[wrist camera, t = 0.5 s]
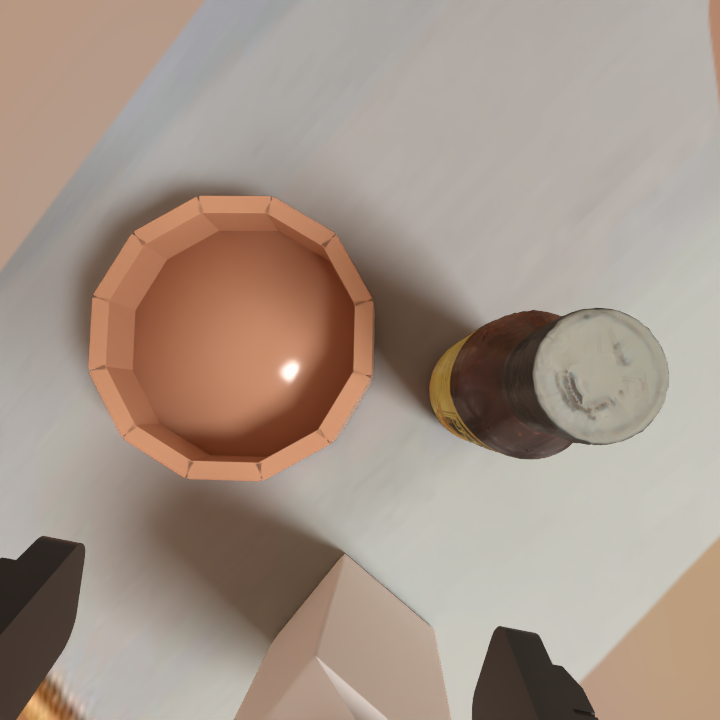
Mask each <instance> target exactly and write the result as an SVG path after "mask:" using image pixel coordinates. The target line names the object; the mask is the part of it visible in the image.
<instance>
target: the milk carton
mask: <svg viewBox="0 0 720 720" xmlns="http://www.w3.org/2000/svg"><path fill="white" fill-rule="evenodd" d="M234 720H451V715H450V709H449V704H448V699H447V694H446V688H445V683H444V678H443V673H442V668H441V662H440V657H439V652H438V647H437V641H436V636H435V631H434V629H433V628H431V627H430V626H429V625H428V624H427V623H426V622H424V621H423V620H422V619H421V618H420V617H419V616H417V615H416V614H415V613H414V612H413V611H412V610H410V609H409V608H408V607H407V606H406V605H405V604H403V603H402V602H401V601H400V600H399V599H398V598H396V597H395V596H394V595H393V594H392V593H391V592H389V591H388V590H387V589H386V588H385V587H384V586H382V585H381V584H380V583H379V582H378V581H376V580H375V579H374V578H373V577H372V576H371V575H369V574H368V573H367V572H366V571H365V570H364V569H362V568H361V567H360V566H359V565H358V564H357V563H355V562H354V561H353V560H352V559H351V558H350V557H348V556H347V555H346V554H344V555H343V556H342V557H341V558H340V559H339V560H338V561H337V563H336V564H335V565H334V566H333V567H332V569H331V570H330V571H329V572H328V574H327V575H326V576H325V577H324V579H323V580H322V581H321V582H320V583H319V585H318V586H317V587H316V588H315V590H314V591H313V592H312V593H311V595H310V596H309V597H308V598H307V599H306V601H305V602H304V603H303V604H302V606H301V607H300V608H299V609H298V611H297V612H296V613H295V614H294V615H293V617H292V618H291V619H290V620H289V622H288V623H287V624H286V625H285V627H284V628H283V629H282V630H281V631H280V633H279V634H278V635H277V636H276V638H275V639H274V641H273V642H272V644H271V646H270V648H269V650H268V652H267V654H266V656H265V658H264V660H263V662H262V664H261V666H260V668H259V670H258V672H257V674H256V676H255V678H254V680H253V682H252V684H251V686H250V688H249V690H248V692H247V694H246V696H245V698H244V700H243V702H242V704H241V706H240V708H239V710H238V712H237V714H236V716H235V718H234Z"/></svg>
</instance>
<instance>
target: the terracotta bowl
mask: <svg viewBox="0 0 720 720" xmlns="http://www.w3.org/2000/svg"><path fill="white" fill-rule="evenodd" d="M134 233H135V235H136V236H137V237H136V236H135V235H133V234H131V235H130V237H129V238H128V240H127V242H126V243H125V245H124V246H123V248H122V250H121V251H120V253H119V254H118V256H117V257H116V259H115V261H114V262H113V264H112V265H111V267H110V269H109V270H108V272H107V273H106V275H105V277H104V278H103V280H102V281H101V283H100V285H99V286H98V288H97V289H96V291H95V292H94V294H93V295H95V296H97V297H98V298H93V297H92V312H91V330H90V348H89V366H88V369H90V370H92V371H91V372H89V374H90V376H91V377H92V379H93V381H94V383H95V385H96V387H97V389H98V391H99V393H100V395H101V397H102V399H103V401H104V403H105V405H106V407H107V409H108V411H109V413H110V415H111V417H112V419H113V421H114V423H115V425H116V427H117V429H118V431H119V433H120V435H121V437H123V436H125V437H124V440H126V441H127V442H129V443H130V444H132V445H133V446H135V447H137V448H138V449H140V450H141V451H143V452H144V453H146V454H147V455H149V456H151V457H152V458H154V459H155V460H157V461H158V462H160V463H162V464H163V465H165V466H166V467H168V468H169V469H171V470H172V471H174V472H176V473H177V474H179V475H180V476H182V477H183V478H186V477H187V479H204V480H237V481H262V480H266V479H267V478H269V477H271V476H273V475H275V474H277V473H278V472H280V471H282V470H284V469H286V468H287V467H289V466H291V465H293V464H295V463H297V462H298V461H300V460H302V459H304V458H306V457H308V456H309V455H311V454H313V453H315V452H317V451H318V450H320V449H322V448H324V447H326V446H328V445H329V444H331V443H332V442H334V441H335V440H336V439H337V438H338V437H339V436H340V434H341V432H342V431H343V429H344V428H345V426H346V424H347V423H348V421H349V419H350V418H351V416H352V414H353V413H354V411H355V410H356V408H357V406H358V404H359V403H360V401H361V399H362V398H363V396H364V395H365V393H366V391H367V390H368V388H369V386H370V385H371V383H372V379H371V378H374V333H375V310H374V304H373V300H372V297H371V295H370V293H369V292H368V290H367V288H366V286H365V284H364V283H363V281H362V279H361V277H360V275H359V274H358V272H357V270H356V268H355V266H354V265H353V263H352V261H351V259H350V257H349V256H348V254H347V252H346V250H345V248H344V247H343V245H342V243H341V241H340V239H339V238H338V236H337V235H335V233H334V232H332V231H331V230H329V229H327V228H326V227H324V226H322V225H321V224H319V223H317V222H315V221H314V220H312V219H310V218H309V217H307V216H305V215H303V214H302V213H300V212H298V211H297V210H295V209H293V208H292V207H290V206H288V205H286V204H285V203H283V202H281V201H280V200H278V199H276V198H274V197H273V199H272V198H271V196H199V199H198V198H197V197H195V198H193V199H191V200H189V201H188V202H186V203H184V204H182V205H180V206H179V207H177V208H175V209H173V210H171V211H170V212H168V213H166V214H164V215H162V216H161V217H159V218H157V219H155V220H153V221H152V222H150V223H148V224H146V225H144V226H143V227H141V228H139V229H137V230H135V231H134Z"/></svg>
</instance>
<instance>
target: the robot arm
mask: <svg viewBox="0 0 720 720" xmlns="http://www.w3.org/2000/svg"><path fill="white" fill-rule="evenodd" d="M84 558H85V546H84V544H82V543H77V542H72V541H67V540H62V539H56V538H51V537H46V536H41V537H40V538H38V539H37V540H36V541H35V542H34V543H33V544H32V545H31V546H30V547H29V548H28V549H27V550H26V551H25V552H24V553H23V554H22V555H21V556H20V557H19V558H18V559H17V560H12V559H7V558H0V720H16V719H17V718H18V716H19V715H20V713H21V712H22V710H23V709H24V707H25V706H26V704H27V703H28V702H29V700H30V699H31V697H32V696H33V694H34V693H35V691H36V690H37V688H38V687H39V685H40V684H41V682H42V681H43V679H44V678H45V677H46V675H47V674H48V672H49V671H50V669H51V668H52V666H53V665H54V663H55V662H56V660H57V659H58V657H59V656H60V654H61V653H62V651H63V650H64V648H65V646H66V644H67V642H68V640H69V637H70V635H71V632H72V629H73V626H74V623H75V619H76V614H77V607H78V600H79V593H80V586H81V579H82V572H83V565H84ZM472 720H598V718H596V717H595V712H594V710H593V708H592V706H591V704H590V702H589V700H588V698H587V696H586V694H585V692H584V690H583V688H582V687H581V686H580V685H579V684H578V683H577V682H576V681H575V680H574V679H573V678H572V676H571V675H570V674H569V673H568V672H567V671H566V670H565V669H564V668H563V667H562V666H558V665H552V662H551V660H550V658H549V656H548V654H547V651H546V649H545V647H544V645H543V643H542V641H541V638H540V637H539V635H538V634H536V633H532V632H527V631H522V630H517V629H512V628H507V627H501V626H499V627H497V628H496V629H495V631H494V633H493V635H492V638H491V641H490V644H489V647H488V651H487V654H486V657H485V660H484V663H483V666H482V670H481V673H480V676H479V679H478V682H477V685H476V689H475V692H474V697H473V704H472Z"/></svg>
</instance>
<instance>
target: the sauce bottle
mask: <svg viewBox="0 0 720 720" xmlns="http://www.w3.org/2000/svg"><path fill="white" fill-rule="evenodd" d="M668 386H669V371H668V364H667V360H666V357H665V354H664V352H663V350H662V347H661V346H660V344H659V342H658V341H657V339H656V338H655V337H654V336H653V335H652V333H651V331H650V329H649V328H647V327H645V326H644V325H643V324H642V323H641V322H640V321H638V320H637V319H635V318H633V317H631V316H630V315H628V314H625V313H623V312H620V311H617V310H613V309H604V308H593V309H582V310H578V311H575V312H572V313H569V314H567V315H565V316H559V315H556V314H552V313H549V312H543V311H535V310H532V311H528V312H527V311H523V312H519V313H513V314H511V315H507V316H504V317H502V318H500V319H498V320H495V321H492V322H490V323H488V324H485V325H484V326H482V327H481V328H479V329H478V330H476V331H474V332H473V333H472V334H470V335H469V336H467V337H466V338H464V339H462V340H461V341H459V342H458V343H456V344H455V345H453V346H451V347H450V348H449V349H448V350H447V351H446V352H445V353H444V354H443V355H442V357H441V358H440V359H439V361H438V362H437V364H436V366H435V368H434V370H433V372H432V376H431V381H430V386H429V394H430V401H431V405H432V408H433V410H434V412H435V414H436V416H437V418H438V420H439V421H440V423H441V424H442V425H443V426H444V427H445V428H446V429H447V430H449V431H450V432H451V433H452V434H454V435H455V436H457V437H459V438H461V439H464V440H467V441H469V442H472V443H474V444H477V445H479V446H481V447H484V448H486V449H489V450H493V451H495V452H499V453H501V454H504V455H507V456H510V457H514V458H519V459H541V458H546V457H550V456H552V455H555V454H557V453H559V452H561V451H563V450H565V449H566V448H568V447H569V446H570V445H571V444H572V443H573V442H574V443H582V444H588V445H590V444H593V445H607V444H612V443H616V442H621V441H623V440H626V439H629V438H631V437H632V436H634V435H636V434H638V433H640V432H642V431H643V430H644V429H645V428H646V427H647V426H648V425H649V424H650V423H651V422H652V421H653V419H654V418H655V417H656V415H657V414H658V413H659V411H660V409H661V407H662V405H663V403H664V401H665V398H666V392H667V389H668Z"/></svg>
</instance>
